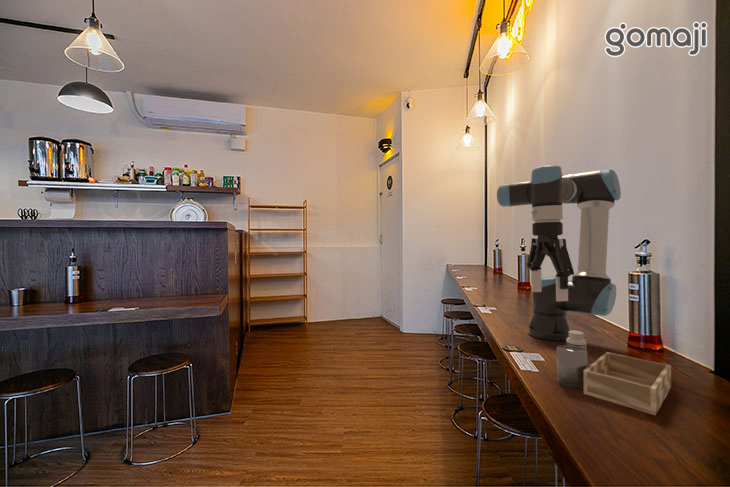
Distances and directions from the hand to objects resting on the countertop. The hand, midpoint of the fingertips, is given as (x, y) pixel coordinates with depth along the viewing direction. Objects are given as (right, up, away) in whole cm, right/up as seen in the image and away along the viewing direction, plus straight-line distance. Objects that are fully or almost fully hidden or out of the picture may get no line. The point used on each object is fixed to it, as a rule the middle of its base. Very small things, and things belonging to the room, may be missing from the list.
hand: (548, 296), depth 94 cm
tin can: (+3, -22, -5) cm, 23 cm away
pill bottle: (+13, -22, +8) cm, 27 cm away
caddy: (+14, -22, -11) cm, 28 cm away
